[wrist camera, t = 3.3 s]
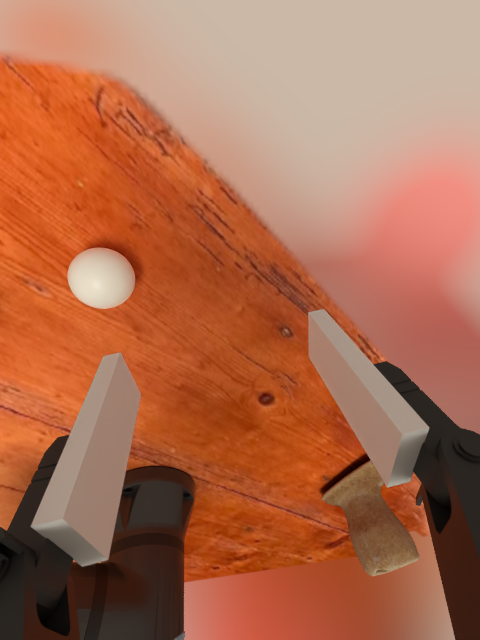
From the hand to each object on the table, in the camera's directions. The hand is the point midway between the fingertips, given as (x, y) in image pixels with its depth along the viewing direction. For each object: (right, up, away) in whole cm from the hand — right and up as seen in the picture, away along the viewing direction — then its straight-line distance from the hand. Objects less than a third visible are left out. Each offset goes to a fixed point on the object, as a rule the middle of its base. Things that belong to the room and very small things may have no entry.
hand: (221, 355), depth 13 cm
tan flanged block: (+25, -32, +45) cm, 61 cm away
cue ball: (-12, +5, +12) cm, 17 cm away
